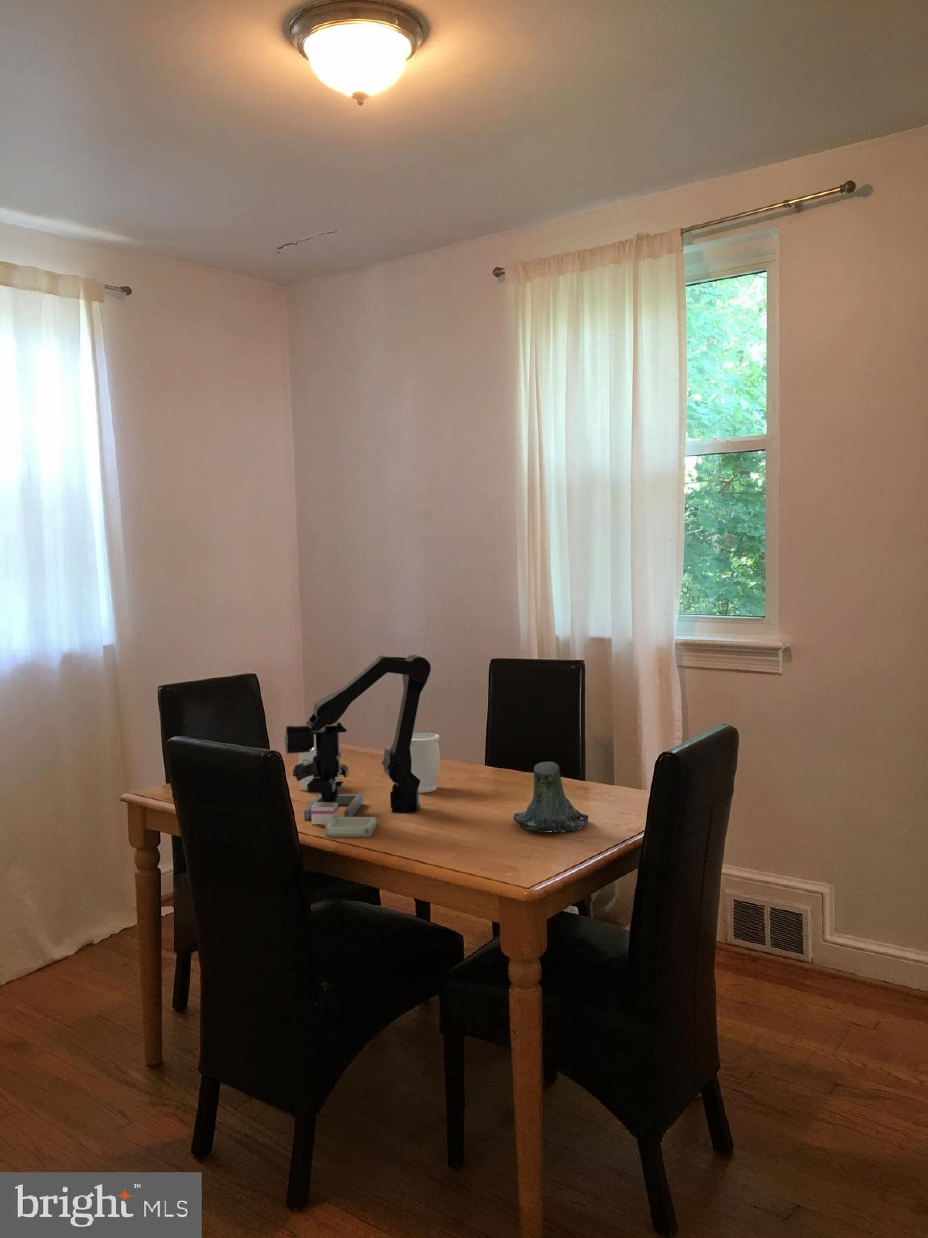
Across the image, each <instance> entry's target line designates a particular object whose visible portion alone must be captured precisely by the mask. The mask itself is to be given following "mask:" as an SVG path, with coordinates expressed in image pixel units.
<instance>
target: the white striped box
mask: <svg viewBox="0 0 928 1238" xmlns="http://www.w3.org/2000/svg"><path fill="white" fill-rule="evenodd" d="M333 817H339V805H338V802H315V804H314V805H313V806H312V807H311V818H310V819H311V825H312V824H313V825H312V826H317V825H316V824H321V825H320V826H326V825H327V824H328V823H329V822H330V821H331V820H332V818H333ZM314 824H315V825H314ZM322 824H323V825H322Z"/></svg>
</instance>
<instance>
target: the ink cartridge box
mask: <svg viewBox="0 0 928 1238" xmlns="http://www.w3.org/2000/svg"><path fill="white" fill-rule="evenodd" d="M315 755H316V736H314V748H312V749H310V752H304V753H298V765H299V764H300V763H306V762H309V761H312V760H313V757H314V756H315ZM318 778H320V777H318ZM312 779H313V775H311V776H309V777H306V778H303V779H302V780H300V781H299V785H300V786H299V788H300V789H299V790H300V791H306V790H307V784H308V783H309V782H310V781H311V780H312Z"/></svg>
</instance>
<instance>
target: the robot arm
mask: <svg viewBox="0 0 928 1238" xmlns="http://www.w3.org/2000/svg"><path fill="white" fill-rule="evenodd" d="M431 667H432V666H431V663H430V662H429V660H428V659H426V658H425V657H422V656H419V655H417V654H411V655H408V656H407V657H400V656H399V657H397V656H387V655H379V656H377V658H376V659H375V660H374V661H373V662H372V663H371V664H370V665H368V666H367V667H366V668H364V669H363V671H361V672H360V673H359V674H356V676H355V677H354V678H352V679H351V680H350V681H349V682H348V683H347V684H345V685H344V686H343V687H342V688H341V689H339V690H337V691H334V692H332V693H330V694H328V695H326V696H325V697H323V698H321V699H319V700H318V701H316V703H314V705H313V712H312V714H311V715H310V717H309V718H308V720H307V721H306V723H305V724H303V725H286V726H285V733H284V734H285V737H284V751H285V754H286V755H291V754H299V753H304V752H310V749H312V748H314V738H315V737H316V755H315V756H314V757H313V760H312V761H309V762H306V763H300V764H299V763H298V764H296V765H294V768H293V769H292V772H293V774H292V777H295V778H296V780H297V782H300V780H302V779H303V778H306V777H309V776H311V775H313V779H312V780H311V781H310V782H309V783H308V784H307V791H306V793H308V794H321V795H322V798H323V801H324V802H336V800H337V797H338V794H340V791H341V790H342V786H343V784H344V781H343V780H342V781H341V780H340V781H338V777H339V776H343V778H348V776H349V767H348V766H347V765H346V764H342V763H340V758H342V752H340V733H346V732H347V731H348V730H347V728H345V726H343V724H342V723H341V722H340V721H339V720H340V718H341V717H342V716H343V715H344V714H345V712H346V711H347V709H348V708H349V706H350V705H351V704H352V702H354V701H355V700H356V699H358V697H360V696H361V695H362V694H363V693H365V692H366V691H367V690H368V689H369V688H370V687H372V686H373V685H374V684H375V683H376V682H378V681H379V680H380V679H382V678H383V676H385V675H386V674H388V673H391V674H399V675H402V684H403V692H402V698H401V701H400V708H399V714H398V719H397V724H396V728H395V729H396V730H395V735H394V741H393V743H392V745H391V746H390V748H389V749H388V748H384V755H383V760H382V761H381V765H382V766H383V772H384V773H385V774H386V775H385V776H388V778H389V779H390V781H392V783H393V785H392V789H391V791H390V793H389V794H390V797H389V798H390V808H391V810H390V811H391V812H392V813H417V812H418V811H419V809H420V807H421V804H420V802H419V801H420V800H419V796H420V795H419V794H420V793H419V792H418V787H419V784H420V780H419V779H418V778H417V777H416V776H415V775H414V774H413V773H412V772H411V751H410V745H411V740H412V735H413V733H414V728H415V723H416V719H417V718H416V717H417V713H418V709H419V708H418V707H419V701H420V696H421V693H422V691H423V690H424V688H425V686H426V685H427V682H428V679H429V676H430V675H431V674H430V673H431V672H432V669H431ZM314 735H315V736H314ZM318 777H320V778H318Z"/></svg>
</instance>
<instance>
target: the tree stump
mask: <svg viewBox="0 0 928 1238" xmlns="http://www.w3.org/2000/svg"><path fill="white" fill-rule="evenodd" d="M560 771H561V770H560V765H558V763H556V762H554V761H542V762H539V763H537V764H535V765H534V766H533V796H532V800H531V802H530V803H528V805H527V807H526V810H525V811H524V812H515V813H514V814H513V817H512V818H513V820H514V821H515V822H516V824H518V825H519V826H520V828H523V829H524V830H526V829H527V830H526V831H528V832H532V831H552V832H555V831H556V832H562V831H568V832H570V831H569V830H573V829H578V828H581V827H583V828H585V827H586V825H587V823H588V822H589V821H588V820H589V815H588V814H584V813H581V812H580V811H579V810H578V809H576V808H575V807H574V805H573V804H572V803H571V801H570V800H569V799H568V798H567V797H566V795H565V790H564V787H563V783H562V777H561V772H560ZM584 826H585V827H584ZM581 829H582V828H581ZM578 830H579V829H578ZM573 831H574V830H573Z"/></svg>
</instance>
